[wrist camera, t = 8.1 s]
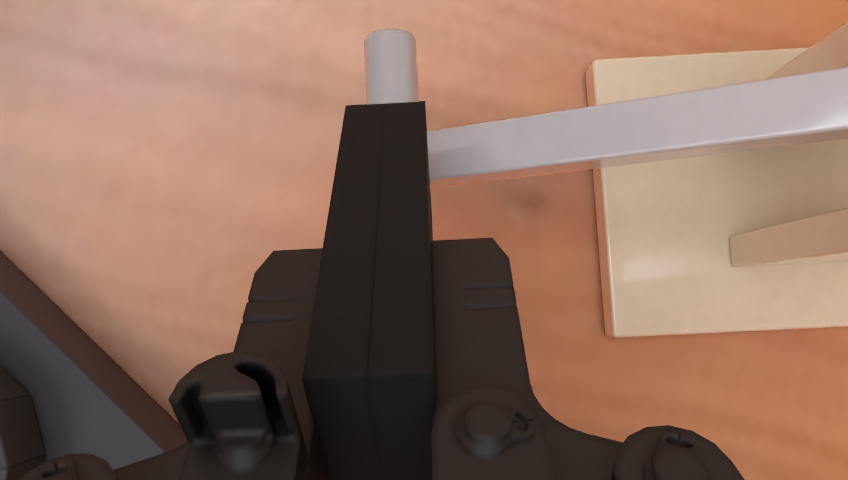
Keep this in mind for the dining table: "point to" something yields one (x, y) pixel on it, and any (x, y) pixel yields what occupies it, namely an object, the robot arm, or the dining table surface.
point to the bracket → (722, 212)
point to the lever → (615, 122)
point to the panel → (66, 390)
